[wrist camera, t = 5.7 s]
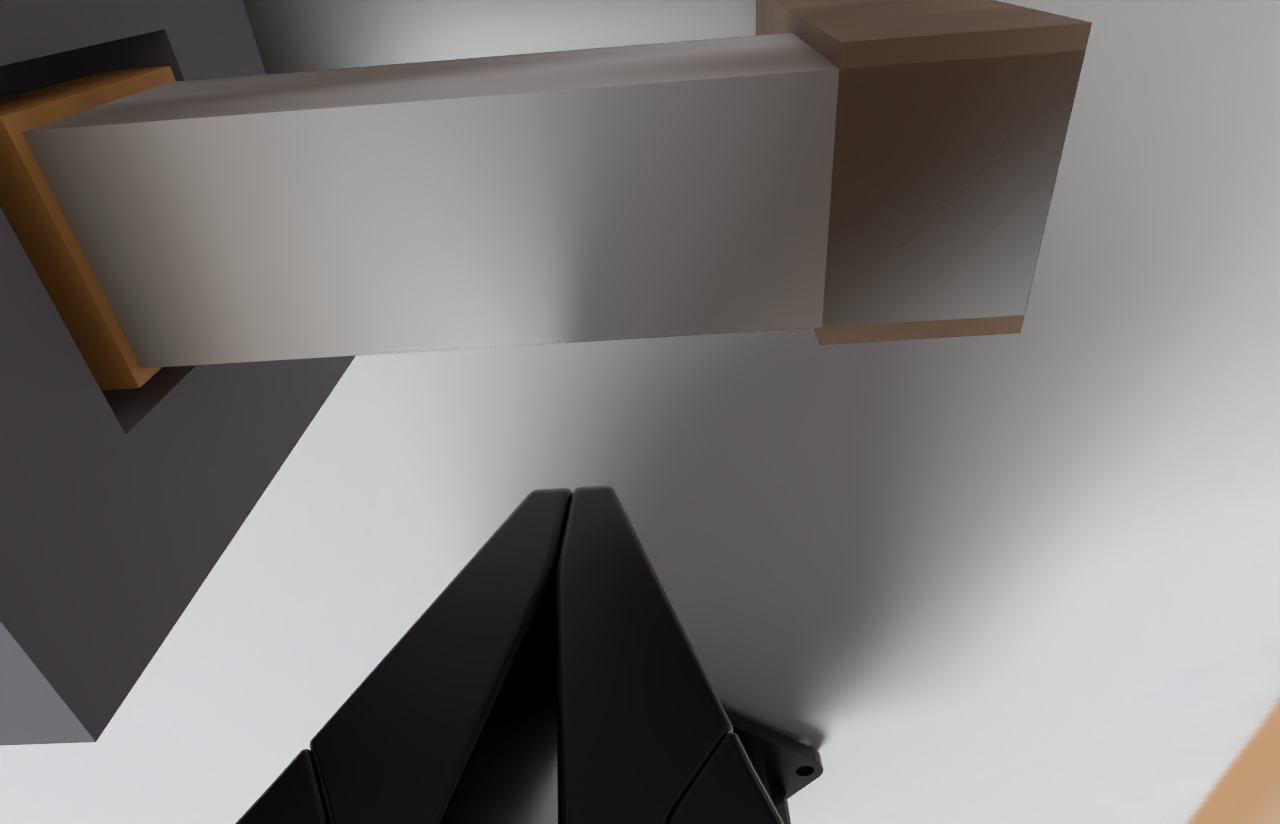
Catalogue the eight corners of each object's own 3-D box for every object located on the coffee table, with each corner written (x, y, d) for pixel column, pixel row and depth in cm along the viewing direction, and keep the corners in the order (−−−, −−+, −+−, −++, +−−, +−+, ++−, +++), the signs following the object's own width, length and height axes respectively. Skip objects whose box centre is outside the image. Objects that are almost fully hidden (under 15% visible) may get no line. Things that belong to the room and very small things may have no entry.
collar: (186, -179, 9) (-807, -394, 3) (355, 354, 13) (95, 742, 7) (-45, -157, 9) (-1465, -319, 3) (194, 364, 14) (-203, 752, 7)
